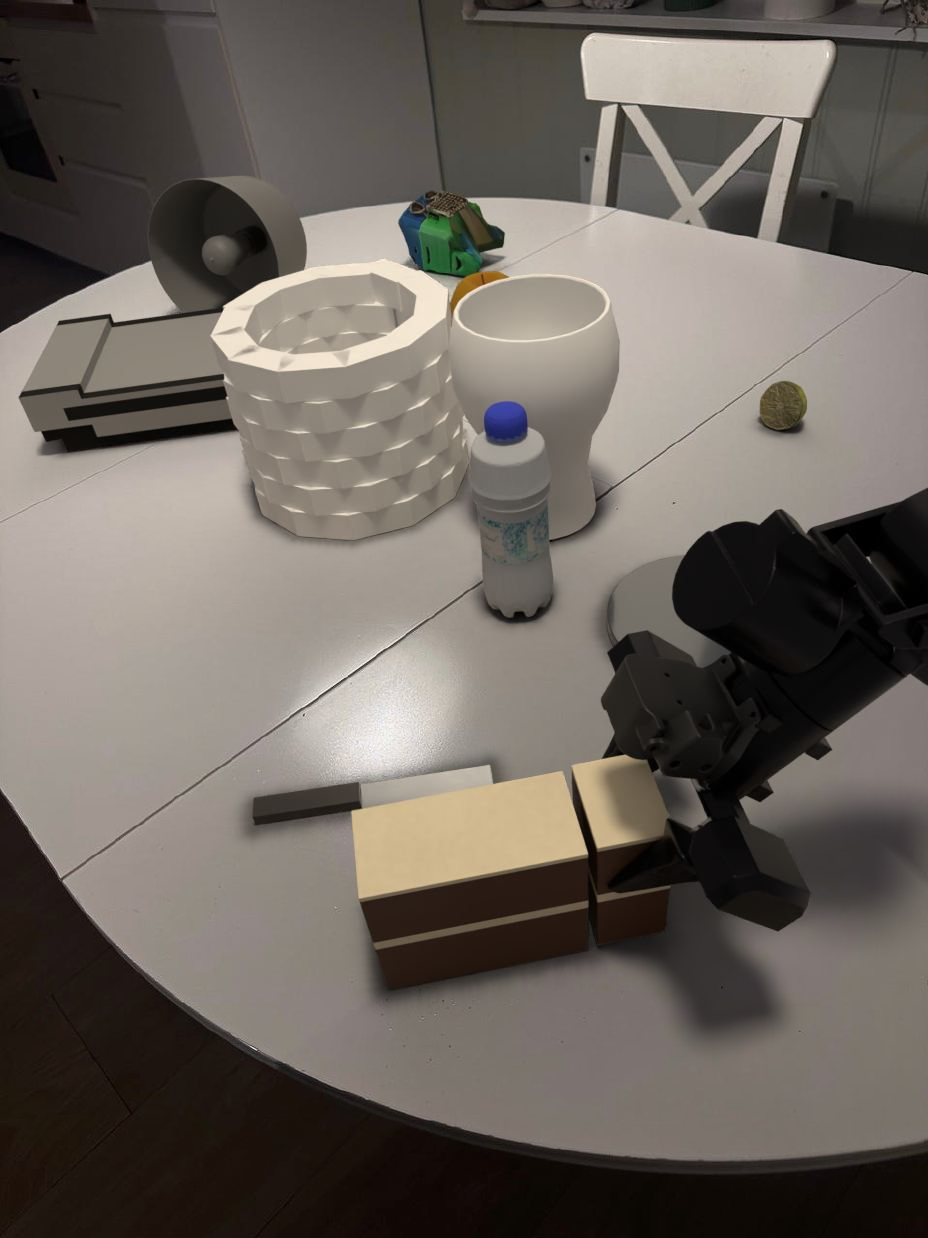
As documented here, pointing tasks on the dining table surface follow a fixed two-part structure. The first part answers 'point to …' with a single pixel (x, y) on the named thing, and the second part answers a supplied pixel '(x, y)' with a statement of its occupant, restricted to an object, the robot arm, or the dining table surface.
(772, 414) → the lime
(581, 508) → the white vase
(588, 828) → the cake slice
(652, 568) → the plate
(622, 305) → the dining table surface
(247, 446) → the basket
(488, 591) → the bottle
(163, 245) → the light fixture
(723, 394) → the dining table surface
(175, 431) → the game console
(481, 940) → the cake
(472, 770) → the cake knife
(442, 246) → the sculpture
